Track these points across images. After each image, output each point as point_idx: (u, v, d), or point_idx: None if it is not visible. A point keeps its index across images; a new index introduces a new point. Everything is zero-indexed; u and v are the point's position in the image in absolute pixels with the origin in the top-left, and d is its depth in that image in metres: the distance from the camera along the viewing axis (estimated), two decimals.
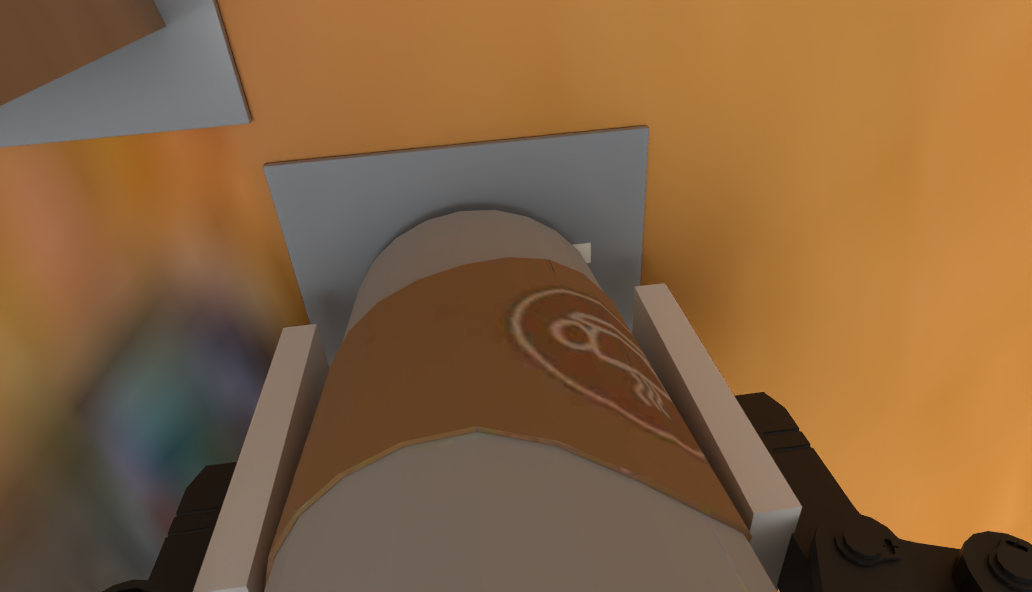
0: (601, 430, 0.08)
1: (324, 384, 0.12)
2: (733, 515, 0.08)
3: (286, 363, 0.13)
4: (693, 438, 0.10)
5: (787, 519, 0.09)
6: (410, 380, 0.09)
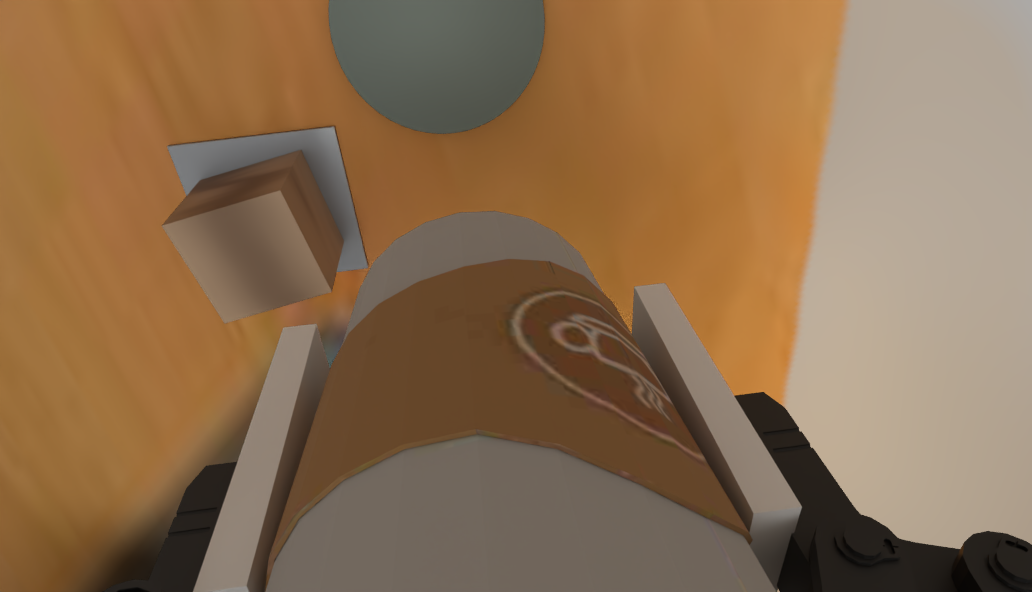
0: (602, 434, 0.08)
1: None
2: (734, 518, 0.08)
3: (286, 363, 0.13)
4: None
5: (787, 519, 0.09)
6: (410, 382, 0.09)
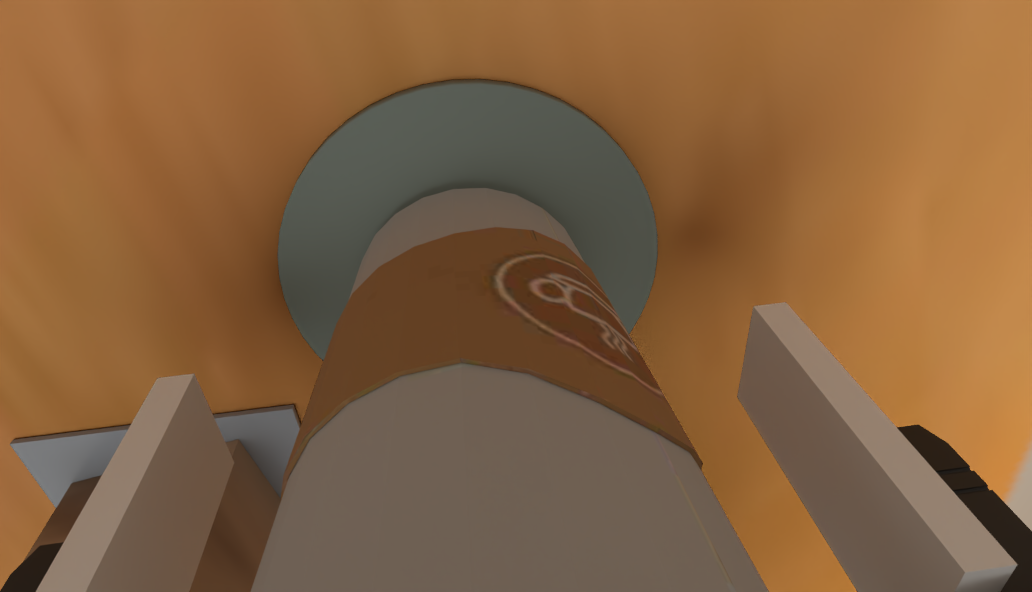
0: (568, 364, 0.09)
1: None
2: (681, 436, 0.09)
3: (148, 422, 0.12)
4: (653, 379, 0.11)
5: (998, 578, 0.08)
6: (405, 325, 0.10)
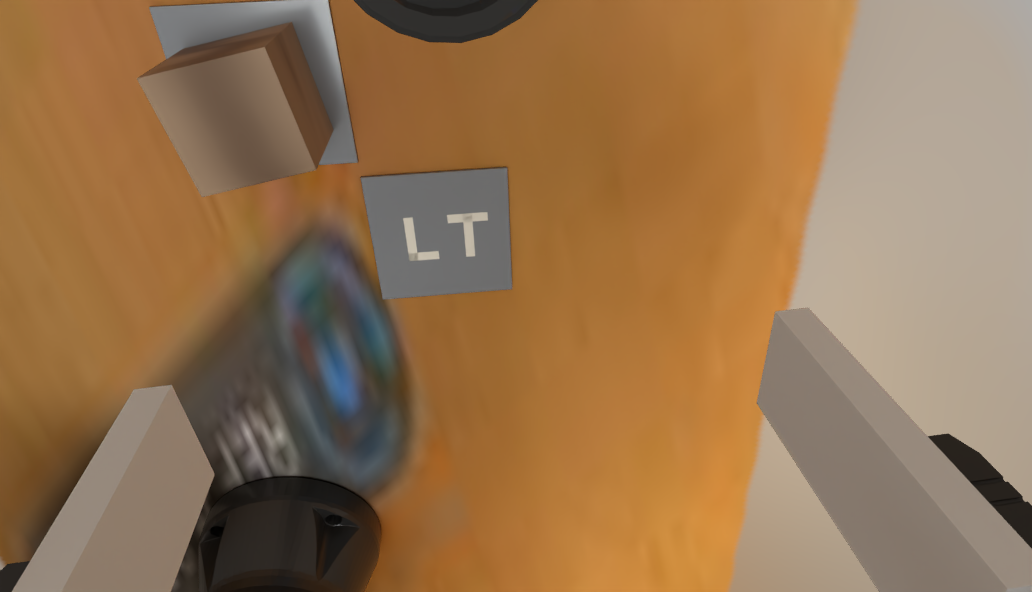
0: None
1: None
2: None
3: (122, 436, 0.12)
4: None
5: None
6: None
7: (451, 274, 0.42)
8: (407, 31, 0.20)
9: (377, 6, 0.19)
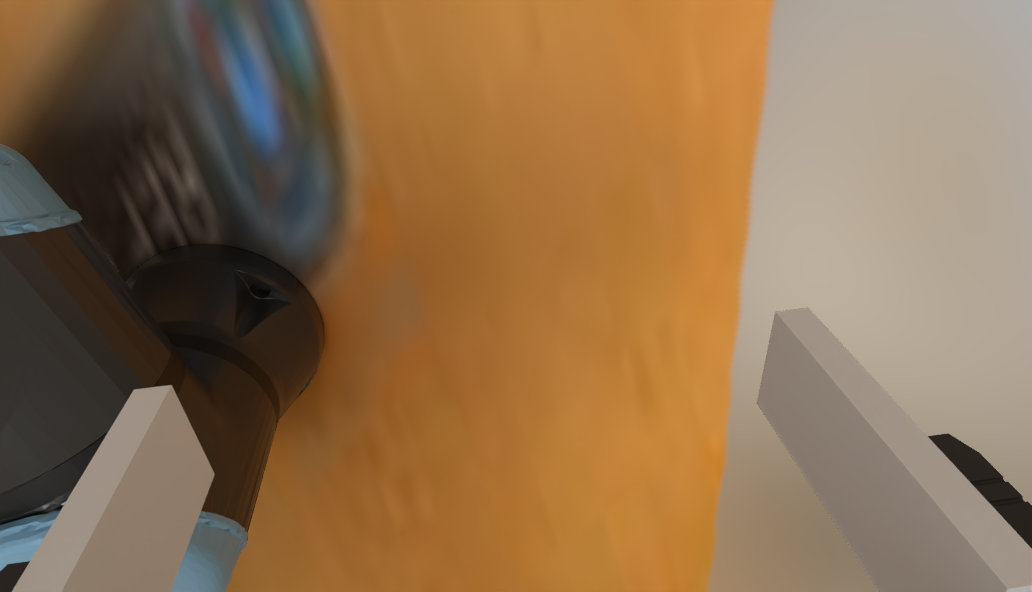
0: None
1: None
2: None
3: (122, 436, 0.12)
4: None
5: None
6: None
7: None
8: None
9: None
